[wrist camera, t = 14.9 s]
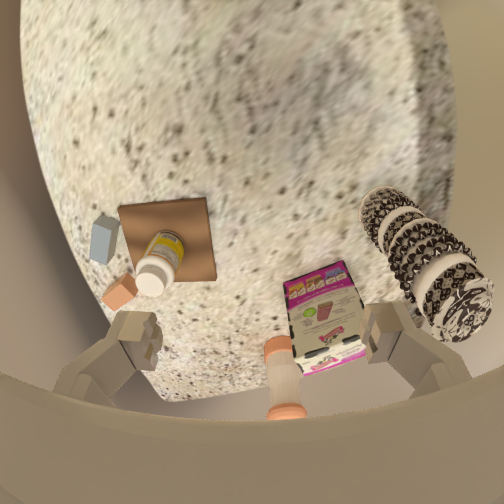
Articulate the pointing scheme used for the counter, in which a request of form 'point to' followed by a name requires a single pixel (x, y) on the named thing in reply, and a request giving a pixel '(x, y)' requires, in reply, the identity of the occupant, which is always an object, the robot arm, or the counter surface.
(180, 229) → the board
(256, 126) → the counter surface
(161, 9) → the counter surface
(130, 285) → the brick terracotta
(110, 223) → the brick blue
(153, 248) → the supplement bottle
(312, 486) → the robot arm
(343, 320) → the candy bar box
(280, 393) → the pepper shaker
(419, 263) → the decorative candle
